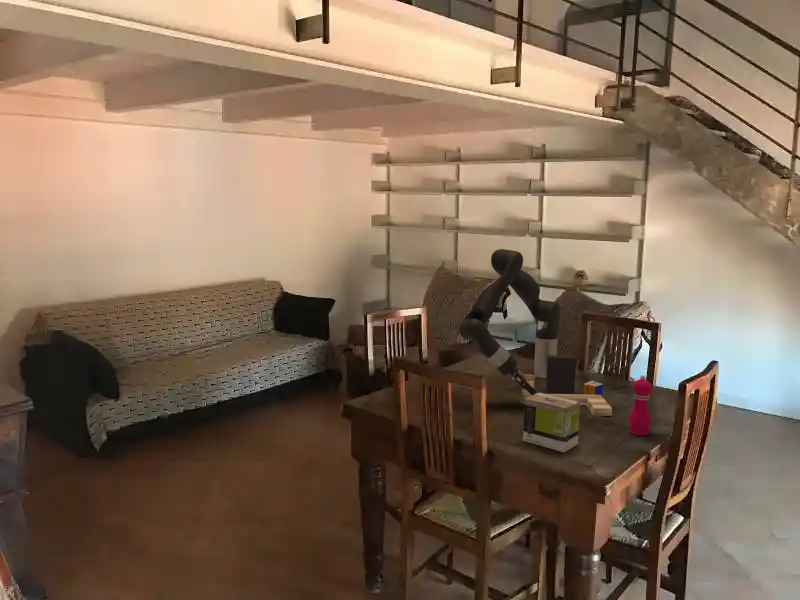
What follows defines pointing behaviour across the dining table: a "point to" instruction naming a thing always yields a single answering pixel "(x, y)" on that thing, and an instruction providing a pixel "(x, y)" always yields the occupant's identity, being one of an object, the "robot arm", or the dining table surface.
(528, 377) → the spool
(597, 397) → the notch board
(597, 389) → the puzzle toy
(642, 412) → the pepper mill
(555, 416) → the tea box
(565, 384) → the black rectangular block
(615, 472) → the dining table surface
